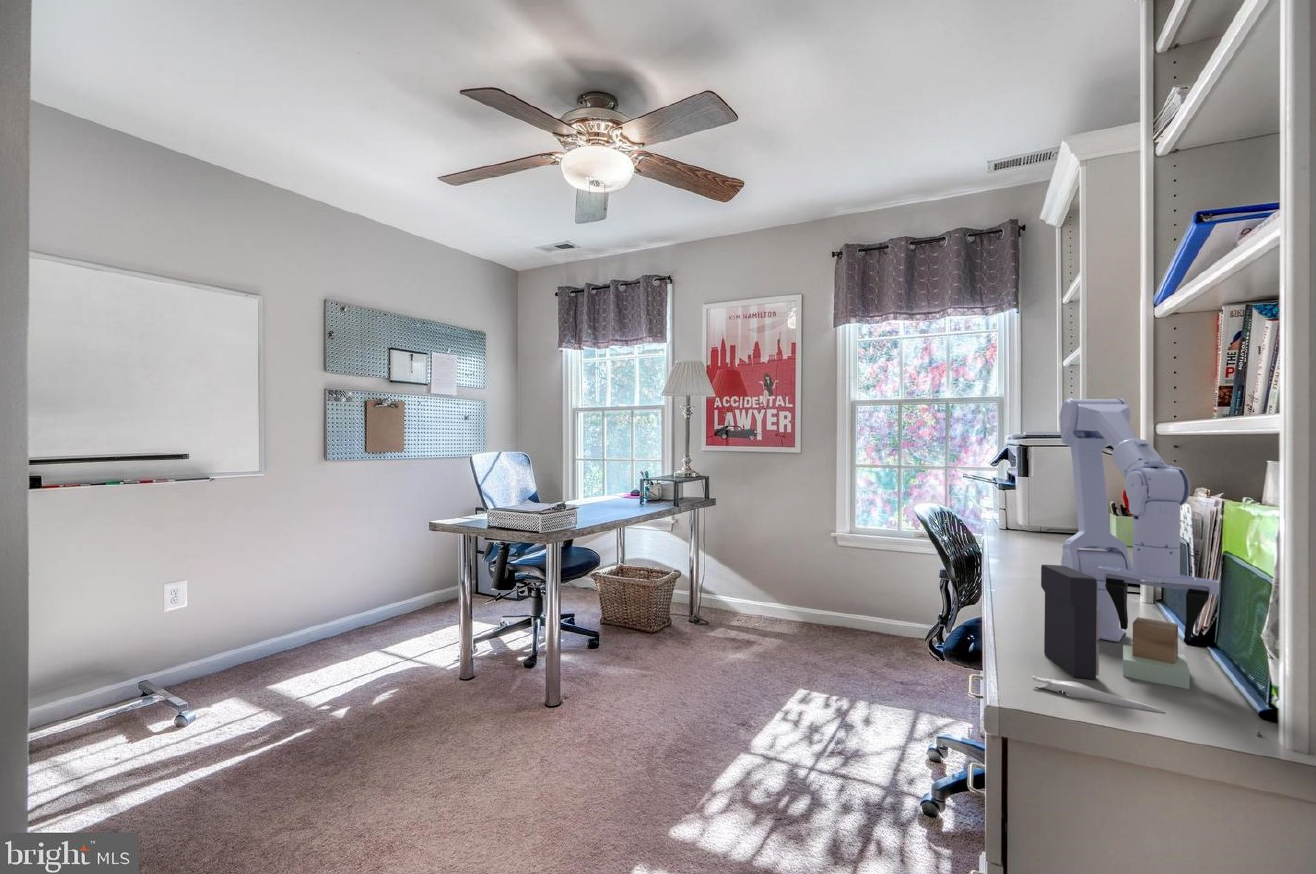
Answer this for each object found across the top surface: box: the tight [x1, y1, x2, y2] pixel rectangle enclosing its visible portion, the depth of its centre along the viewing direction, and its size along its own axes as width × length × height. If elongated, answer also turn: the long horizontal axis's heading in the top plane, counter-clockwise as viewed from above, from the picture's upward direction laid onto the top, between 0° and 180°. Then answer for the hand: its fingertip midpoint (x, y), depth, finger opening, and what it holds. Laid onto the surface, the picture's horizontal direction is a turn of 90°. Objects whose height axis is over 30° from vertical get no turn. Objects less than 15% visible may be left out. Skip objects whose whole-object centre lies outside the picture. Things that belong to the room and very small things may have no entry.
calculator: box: [1040, 564, 1100, 680], centre depth 97 cm, size 11×4×15 cm, turn 168°
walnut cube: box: [1132, 616, 1179, 664], centre depth 95 cm, size 5×5×5 cm
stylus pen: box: [1031, 675, 1167, 714], centre depth 84 cm, size 15×3×2 cm, turn 56°
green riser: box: [1122, 644, 1191, 690], centre depth 95 cm, size 9×8×3 cm
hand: (1155, 633), depth 95 cm, fingers open, 7 cm apart
